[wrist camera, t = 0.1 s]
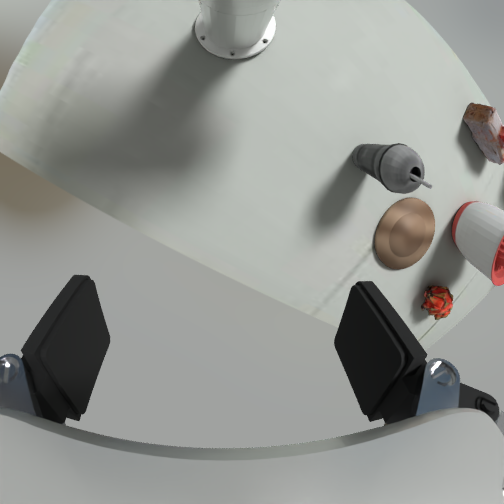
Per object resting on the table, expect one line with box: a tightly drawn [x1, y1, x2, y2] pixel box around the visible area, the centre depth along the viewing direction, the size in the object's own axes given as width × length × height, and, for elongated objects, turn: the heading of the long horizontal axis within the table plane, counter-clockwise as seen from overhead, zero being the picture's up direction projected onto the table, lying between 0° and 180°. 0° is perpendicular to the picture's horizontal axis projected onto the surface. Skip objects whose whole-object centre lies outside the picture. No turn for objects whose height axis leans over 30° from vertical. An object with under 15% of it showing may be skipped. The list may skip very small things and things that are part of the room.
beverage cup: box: [352, 143, 432, 194], centre depth 34 cm, size 7×7×20 cm
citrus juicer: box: [452, 201, 504, 286], centre depth 43 cm, size 16×17×20 cm
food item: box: [463, 103, 504, 165], centre depth 37 cm, size 14×8×10 cm, turn 58°
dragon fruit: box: [421, 286, 453, 320], centre depth 57 cm, size 8×8×12 cm
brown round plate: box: [375, 198, 435, 269], centre depth 50 cm, size 16×16×1 cm
